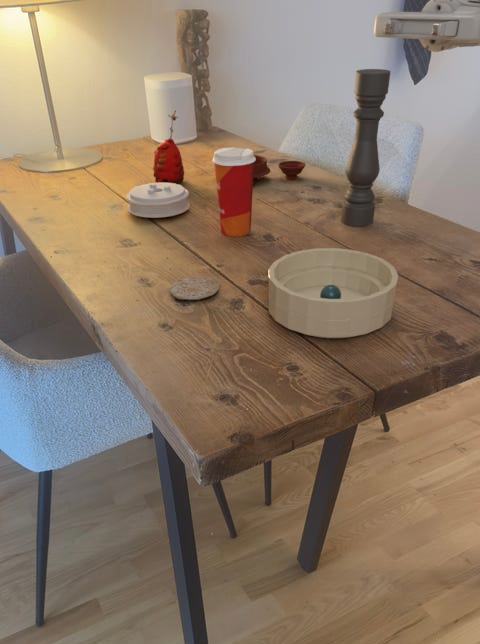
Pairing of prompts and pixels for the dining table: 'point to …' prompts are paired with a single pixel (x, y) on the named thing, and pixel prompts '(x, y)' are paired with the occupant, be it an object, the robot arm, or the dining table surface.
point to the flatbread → (194, 288)
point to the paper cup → (234, 189)
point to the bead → (330, 292)
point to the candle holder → (365, 147)
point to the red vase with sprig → (168, 161)
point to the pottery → (287, 167)
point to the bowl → (331, 314)
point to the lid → (158, 200)
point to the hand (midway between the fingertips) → (410, 29)
